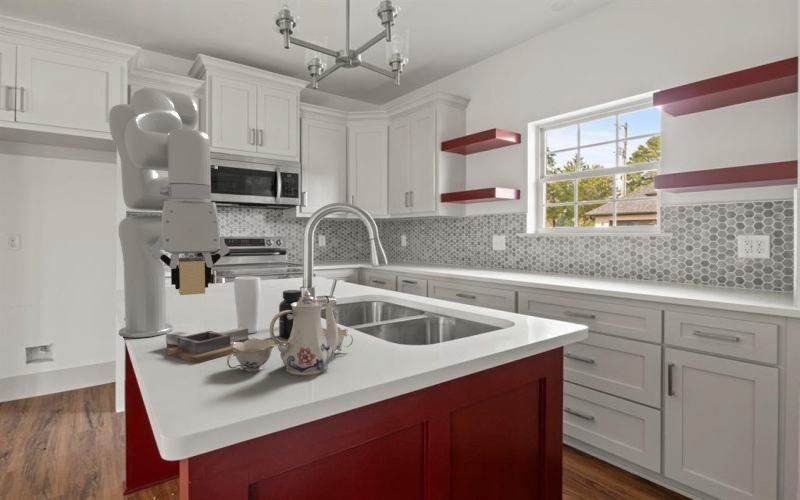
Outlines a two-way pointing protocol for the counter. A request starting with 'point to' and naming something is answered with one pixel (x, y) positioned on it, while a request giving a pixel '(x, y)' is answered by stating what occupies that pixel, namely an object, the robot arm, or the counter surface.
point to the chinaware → (297, 341)
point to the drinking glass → (247, 302)
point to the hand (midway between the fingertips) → (191, 286)
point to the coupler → (191, 275)
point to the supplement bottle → (284, 322)
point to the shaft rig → (203, 344)
